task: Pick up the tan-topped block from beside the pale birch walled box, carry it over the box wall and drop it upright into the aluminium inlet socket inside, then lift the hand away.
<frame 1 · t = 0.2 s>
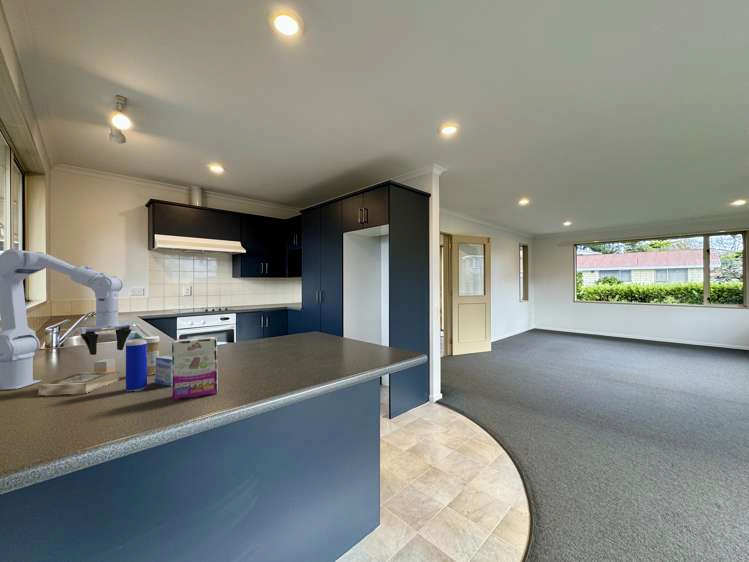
hand: (107, 352, 102), 10 cm above the countertop, tool pointing down, fingers open, 7 cm apart
walled box: (81, 387, 96), on the countertop
medicine box: (169, 384, 99), on the countertop
candy bar box: (196, 395, 88), on the countertop
beverage can: (136, 390, 94), on the countertop
inlet socket: (81, 382, 96), in the walled box
tan-topped block: (104, 377, 106), on the countertop
sprinkles bottle: (151, 374, 110), on the countertop
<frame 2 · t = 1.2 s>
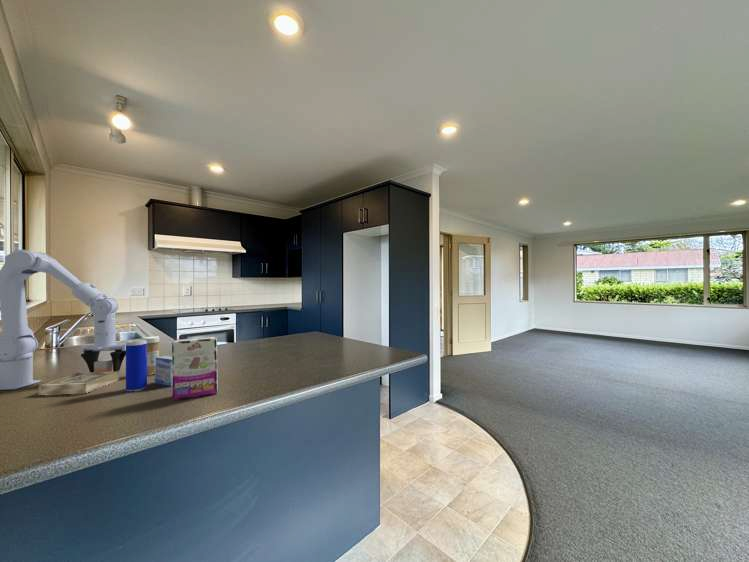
hand: (105, 371, 106), 2 cm above the countertop, tool pointing down, fingers open, 7 cm apart
nothing on the countertop moved.
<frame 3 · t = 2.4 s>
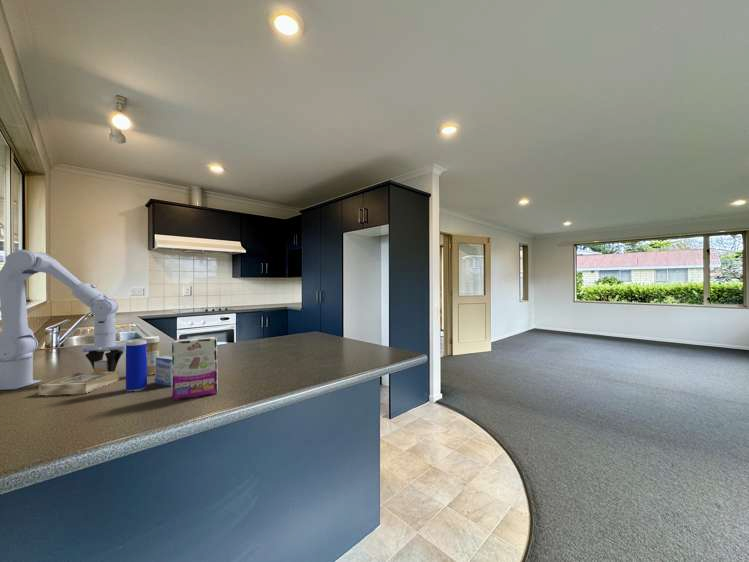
hand: (104, 372, 106), 2 cm above the countertop, tool pointing down, fingers closed on tan-topped block, 4 cm apart
tan-topped block: (104, 377, 106), on the countertop, touching gripper
everything else where it was.
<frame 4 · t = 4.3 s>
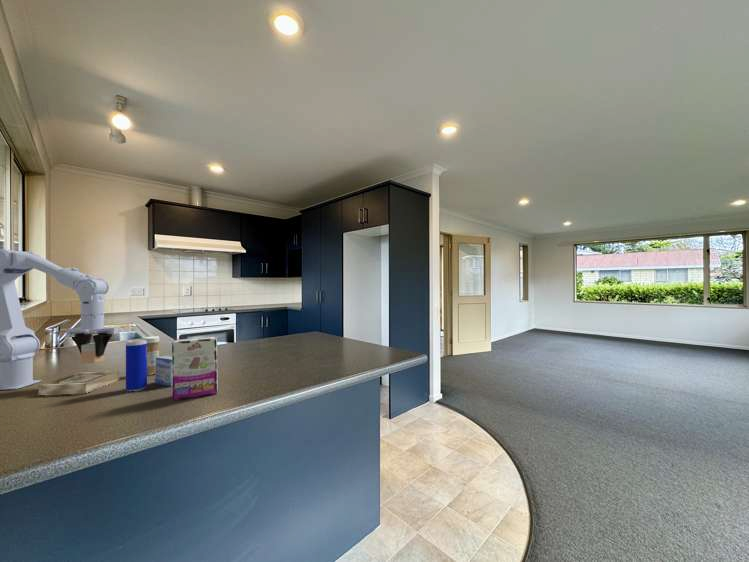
hand: (92, 355, 101), 9 cm above the countertop, tool pointing down, fingers closed on tan-topped block, 4 cm apart
tan-topped block: (93, 361, 101), point 7 cm above the countertop, touching gripper
everything else where it was.
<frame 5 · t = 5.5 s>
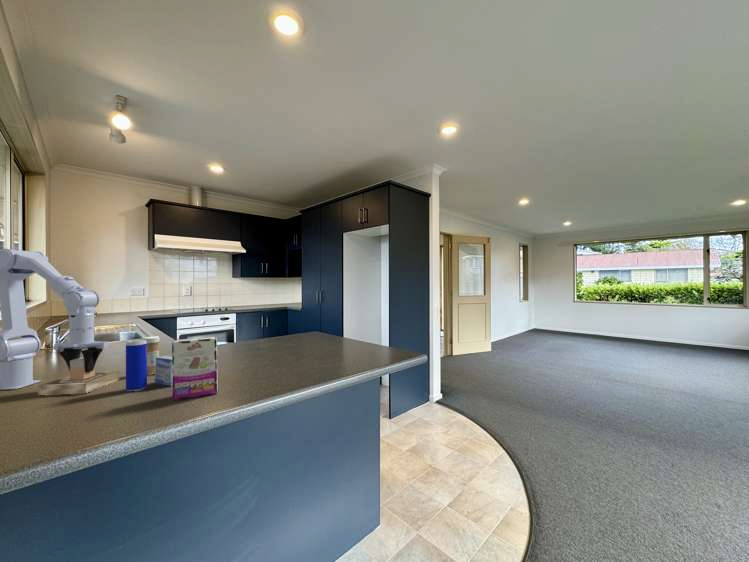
hand: (81, 371, 96), 5 cm above the countertop, tool pointing down, fingers closed on tan-topped block, 4 cm apart
tan-topped block: (82, 377, 96), point 3 cm above the countertop, touching gripper
everything else where it was.
when the fingers open (4 cm above the countertop, at t = 6.2 s): tan-topped block drops 1 cm, resting on walled box.
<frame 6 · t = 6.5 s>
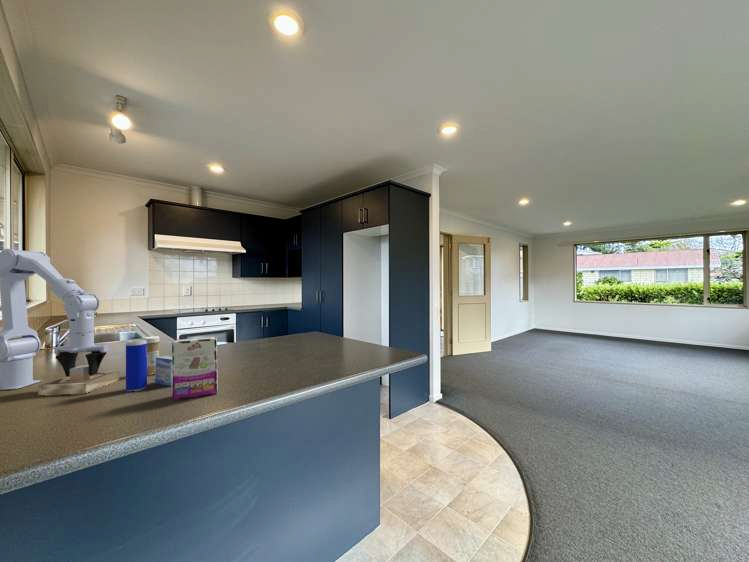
hand: (81, 375, 96), 4 cm above the countertop, tool pointing down, fingers open, 6 cm apart
tan-topped block: (82, 385, 96), resting on walled box
everything else where it was.
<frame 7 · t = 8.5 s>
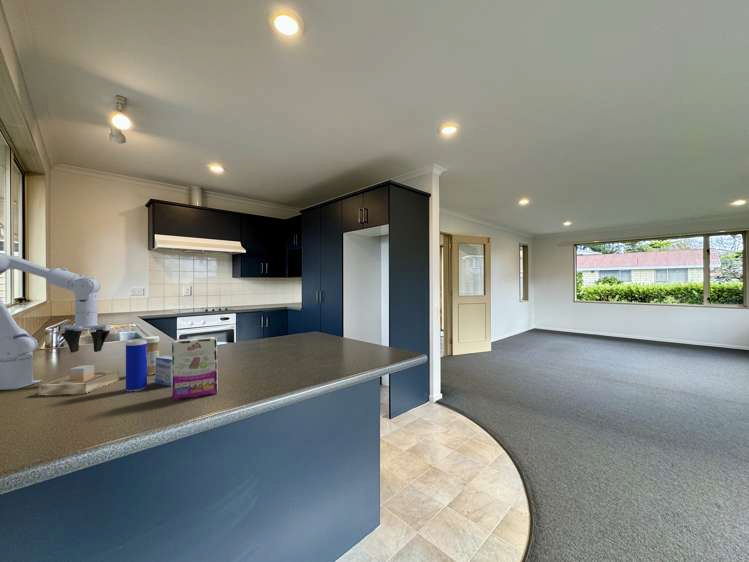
hand: (86, 351, 105), 9 cm above the countertop, tool pointing down, fingers open, 7 cm apart
nothing on the countertop moved.
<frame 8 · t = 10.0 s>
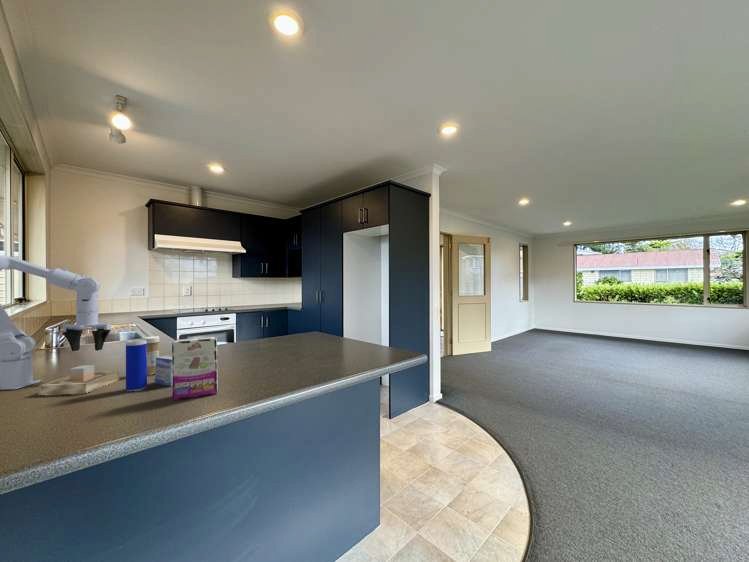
hand: (87, 350, 107), 9 cm above the countertop, tool pointing down, fingers open, 7 cm apart
nothing on the countertop moved.
at the end: tan-topped block 0.2 cm off-centre on the inlet socket, point 0.4 cm above the inlet socket's base; tan-topped block tilted 0°; the gripper is holding nothing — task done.
